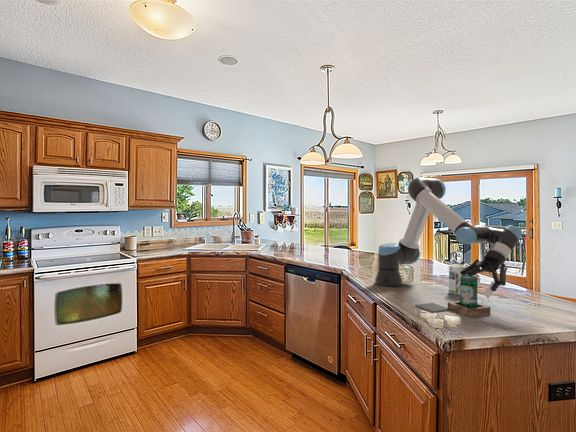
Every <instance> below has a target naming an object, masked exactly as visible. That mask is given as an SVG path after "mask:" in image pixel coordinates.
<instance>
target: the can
mask: <svg viewBox="0 0 576 432" xmlns="http://www.w3.org/2000/svg"><path fill="white" fill-rule="evenodd" d="M478 281H479V278H478V276H475V275H473V276H467V275H464V276H461V281H460V295H459V301H460V305H461V306H464V307H467V308H477V303H478V289H479V288H478Z"/></svg>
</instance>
